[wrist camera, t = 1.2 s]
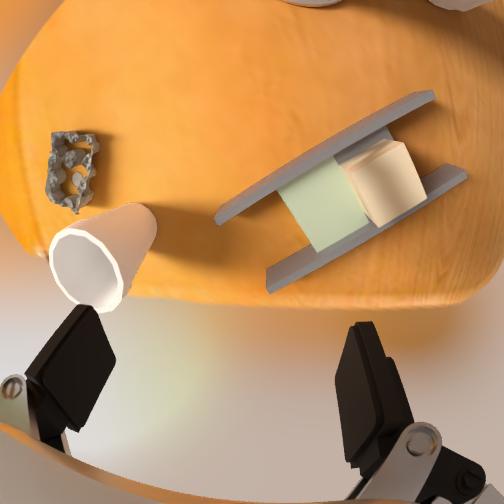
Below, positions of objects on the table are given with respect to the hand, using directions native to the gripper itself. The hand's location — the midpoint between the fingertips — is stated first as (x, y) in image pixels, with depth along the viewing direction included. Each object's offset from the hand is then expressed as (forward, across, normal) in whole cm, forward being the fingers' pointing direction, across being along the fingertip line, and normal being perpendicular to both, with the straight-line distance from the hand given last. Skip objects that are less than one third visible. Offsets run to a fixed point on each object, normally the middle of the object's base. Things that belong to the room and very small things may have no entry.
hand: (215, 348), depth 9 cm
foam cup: (+25, +16, +5) cm, 30 cm away
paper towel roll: (+26, -24, -30) cm, 46 cm away
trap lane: (+25, -10, 0) cm, 27 cm away
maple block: (+22, -13, -2) cm, 26 cm away
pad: (+25, -7, +2) cm, 26 cm away
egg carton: (+26, +25, -3) cm, 36 cm away
